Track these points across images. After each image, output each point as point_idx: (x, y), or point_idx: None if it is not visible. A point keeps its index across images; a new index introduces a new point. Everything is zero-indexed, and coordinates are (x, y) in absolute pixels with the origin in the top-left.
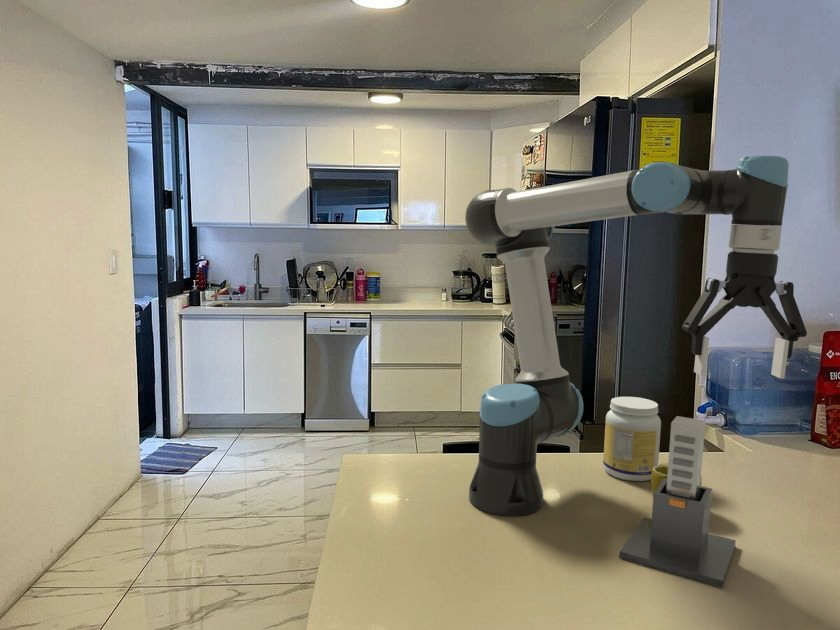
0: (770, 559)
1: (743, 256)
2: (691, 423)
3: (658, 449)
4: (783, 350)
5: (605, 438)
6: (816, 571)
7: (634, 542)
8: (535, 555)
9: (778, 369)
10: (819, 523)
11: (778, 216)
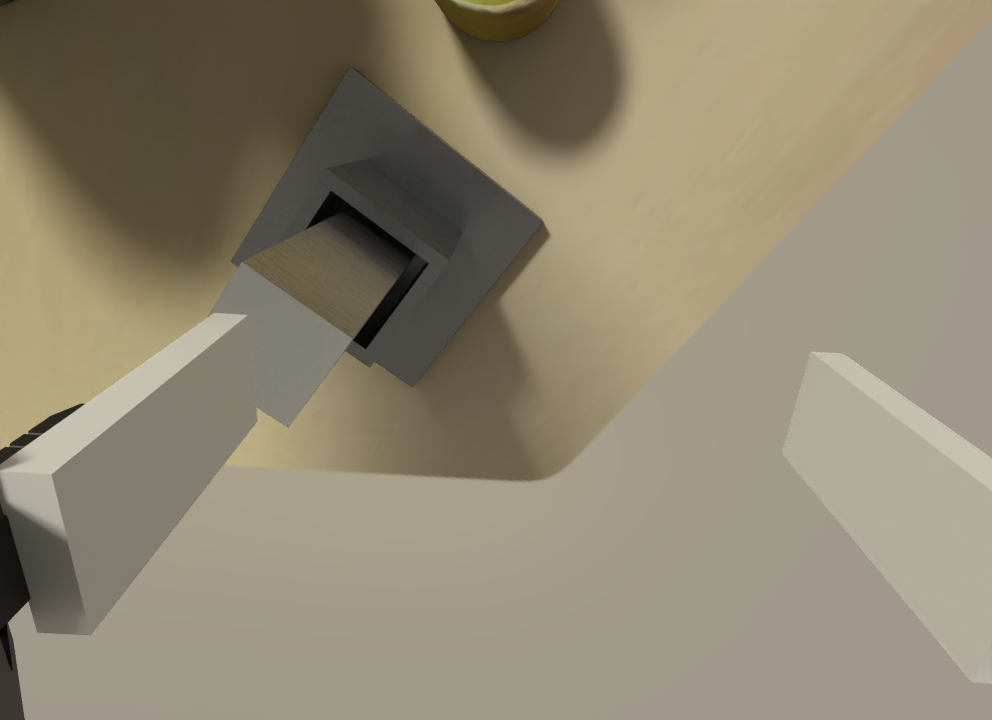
0: (589, 280)
1: None
2: (268, 376)
3: None
4: (902, 598)
5: None
6: (656, 333)
7: (278, 220)
8: (44, 236)
9: (815, 458)
10: (881, 92)
11: None
